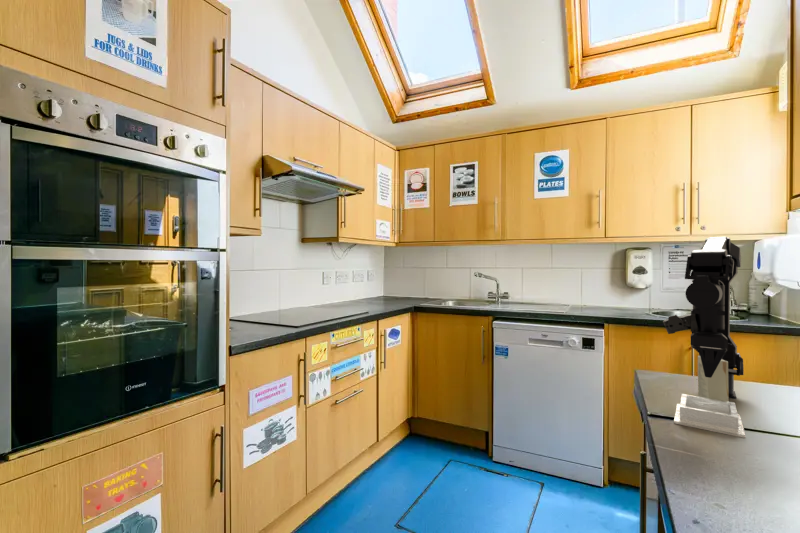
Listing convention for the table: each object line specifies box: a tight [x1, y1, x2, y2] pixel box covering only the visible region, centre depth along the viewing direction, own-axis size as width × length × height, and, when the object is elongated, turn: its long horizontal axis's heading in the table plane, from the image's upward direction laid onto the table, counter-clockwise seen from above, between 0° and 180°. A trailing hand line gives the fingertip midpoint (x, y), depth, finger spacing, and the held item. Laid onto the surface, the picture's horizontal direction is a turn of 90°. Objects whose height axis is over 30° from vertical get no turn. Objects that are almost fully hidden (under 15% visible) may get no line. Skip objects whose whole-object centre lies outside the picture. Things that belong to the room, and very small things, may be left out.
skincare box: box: [697, 355, 730, 402], centre depth 98 cm, size 6×4×12 cm
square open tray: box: [673, 393, 746, 439], centre depth 89 cm, size 14×12×4 cm
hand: (707, 372), depth 89 cm, fingers open, 9 cm apart
